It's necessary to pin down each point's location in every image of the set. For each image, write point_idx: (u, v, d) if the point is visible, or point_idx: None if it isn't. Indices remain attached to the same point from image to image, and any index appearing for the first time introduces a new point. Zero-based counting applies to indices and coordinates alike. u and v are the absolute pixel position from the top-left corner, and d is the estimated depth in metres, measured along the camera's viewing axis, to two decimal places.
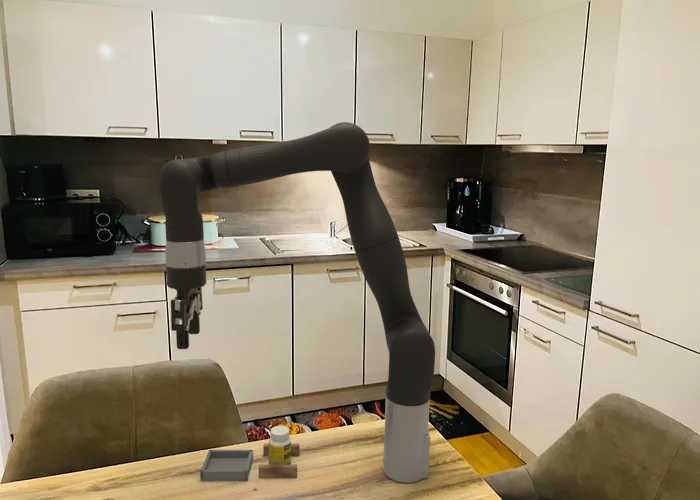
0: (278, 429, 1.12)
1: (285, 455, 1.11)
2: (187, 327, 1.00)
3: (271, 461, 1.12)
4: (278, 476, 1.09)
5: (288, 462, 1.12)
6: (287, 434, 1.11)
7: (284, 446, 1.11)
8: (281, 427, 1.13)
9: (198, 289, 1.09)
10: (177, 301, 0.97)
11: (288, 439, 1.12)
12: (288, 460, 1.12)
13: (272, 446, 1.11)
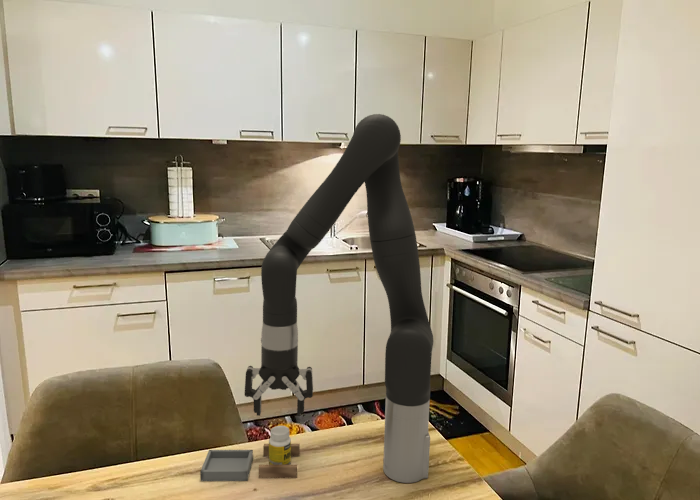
0: (278, 429, 1.12)
1: (285, 455, 1.11)
2: None
3: (271, 461, 1.12)
4: (278, 476, 1.09)
5: (288, 462, 1.12)
6: (287, 434, 1.11)
7: (283, 446, 1.11)
8: (281, 427, 1.13)
9: None
10: (311, 370, 1.10)
11: (288, 439, 1.12)
12: (288, 460, 1.12)
13: (272, 446, 1.11)
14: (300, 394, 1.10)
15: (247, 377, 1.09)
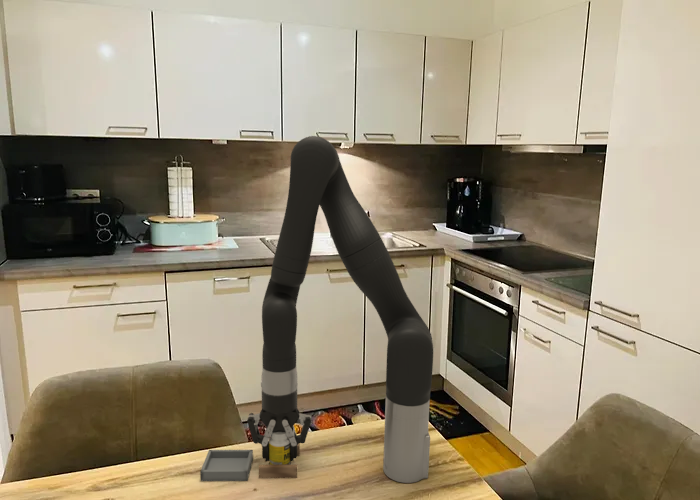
0: None
1: (285, 455, 1.11)
2: None
3: (271, 461, 1.12)
4: (278, 476, 1.09)
5: (288, 462, 1.12)
6: None
7: (284, 446, 1.11)
8: None
9: None
10: (310, 417, 1.12)
11: (288, 439, 1.12)
12: (288, 460, 1.12)
13: (272, 446, 1.11)
14: (293, 440, 1.11)
15: (250, 425, 1.10)
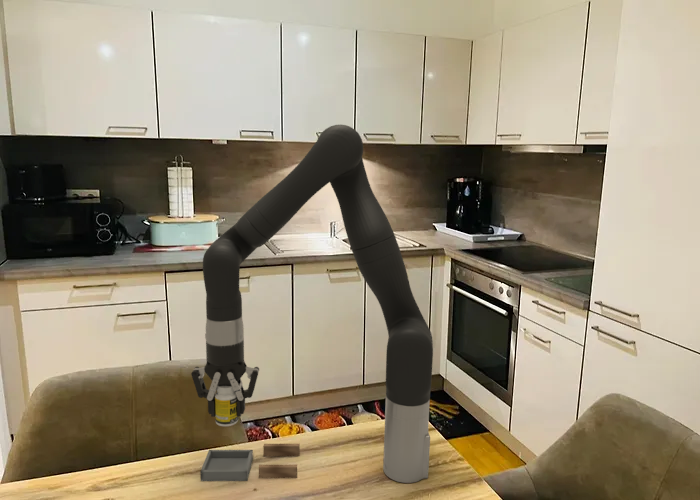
0: None
1: (231, 410, 1.07)
2: None
3: (217, 415, 1.08)
4: (278, 476, 1.09)
5: (235, 417, 1.08)
6: None
7: (229, 400, 1.07)
8: None
9: None
10: (258, 370, 1.08)
11: (235, 393, 1.08)
12: (235, 415, 1.08)
13: (217, 400, 1.07)
14: (239, 394, 1.08)
15: (194, 378, 1.07)
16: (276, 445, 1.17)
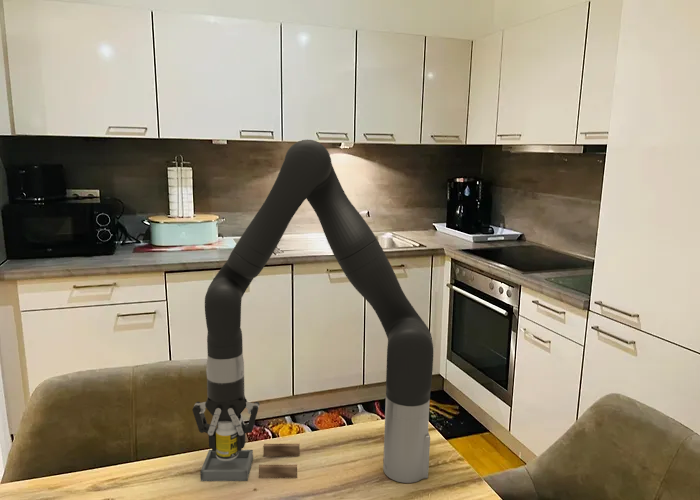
0: None
1: (231, 444, 1.09)
2: None
3: (217, 450, 1.09)
4: (278, 476, 1.09)
5: (235, 451, 1.10)
6: None
7: (230, 435, 1.08)
8: None
9: None
10: (258, 406, 1.09)
11: (235, 428, 1.10)
12: (235, 449, 1.10)
13: (218, 435, 1.08)
14: (240, 429, 1.09)
15: (195, 414, 1.08)
16: (276, 445, 1.17)
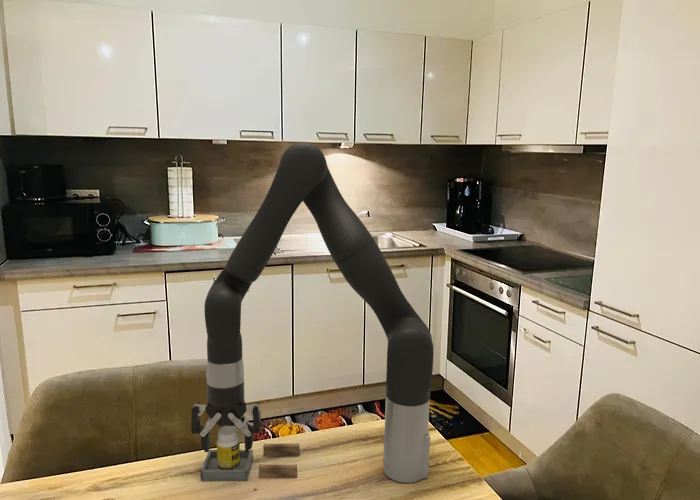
0: (226, 429, 1.11)
1: (233, 456, 1.09)
2: None
3: (218, 462, 1.10)
4: (278, 476, 1.09)
5: (236, 463, 1.10)
6: (235, 435, 1.09)
7: (231, 447, 1.09)
8: (229, 427, 1.11)
9: None
10: (258, 405, 1.09)
11: (236, 440, 1.10)
12: (236, 461, 1.10)
13: (219, 447, 1.09)
14: (247, 430, 1.09)
15: (193, 414, 1.08)
16: (276, 445, 1.17)
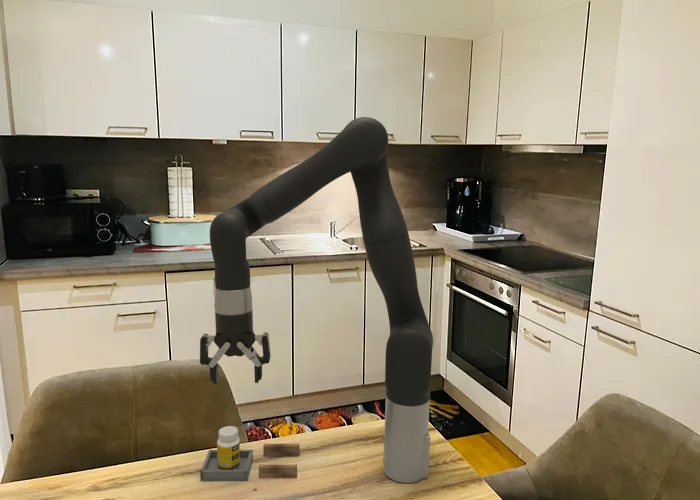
0: (227, 429, 1.11)
1: (233, 456, 1.09)
2: None
3: (219, 462, 1.10)
4: (278, 476, 1.09)
5: (236, 463, 1.10)
6: (235, 435, 1.09)
7: (231, 447, 1.09)
8: (230, 427, 1.11)
9: None
10: (267, 335, 1.08)
11: (236, 440, 1.10)
12: (236, 461, 1.10)
13: (219, 447, 1.09)
14: (257, 360, 1.08)
15: (202, 344, 1.07)
16: (276, 445, 1.17)
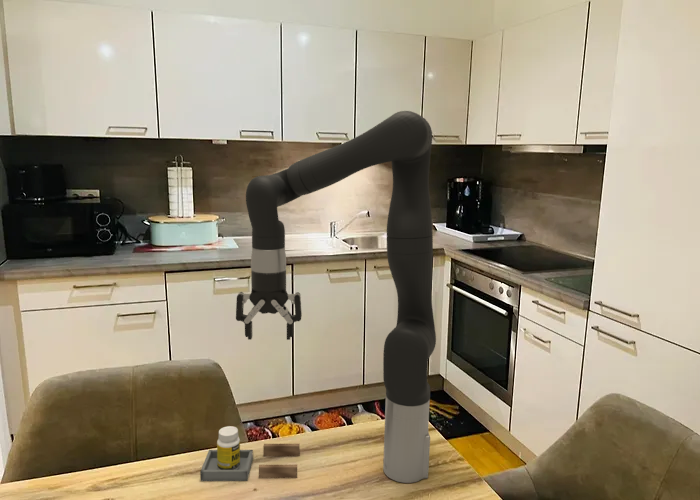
0: (227, 430, 1.11)
1: (233, 456, 1.09)
2: None
3: (219, 462, 1.10)
4: (278, 476, 1.09)
5: (236, 463, 1.10)
6: (235, 435, 1.09)
7: (231, 447, 1.09)
8: (230, 427, 1.11)
9: None
10: (299, 294, 1.15)
11: (236, 440, 1.10)
12: (236, 461, 1.10)
13: (219, 447, 1.09)
14: (289, 318, 1.15)
15: (238, 301, 1.14)
16: (276, 445, 1.17)
